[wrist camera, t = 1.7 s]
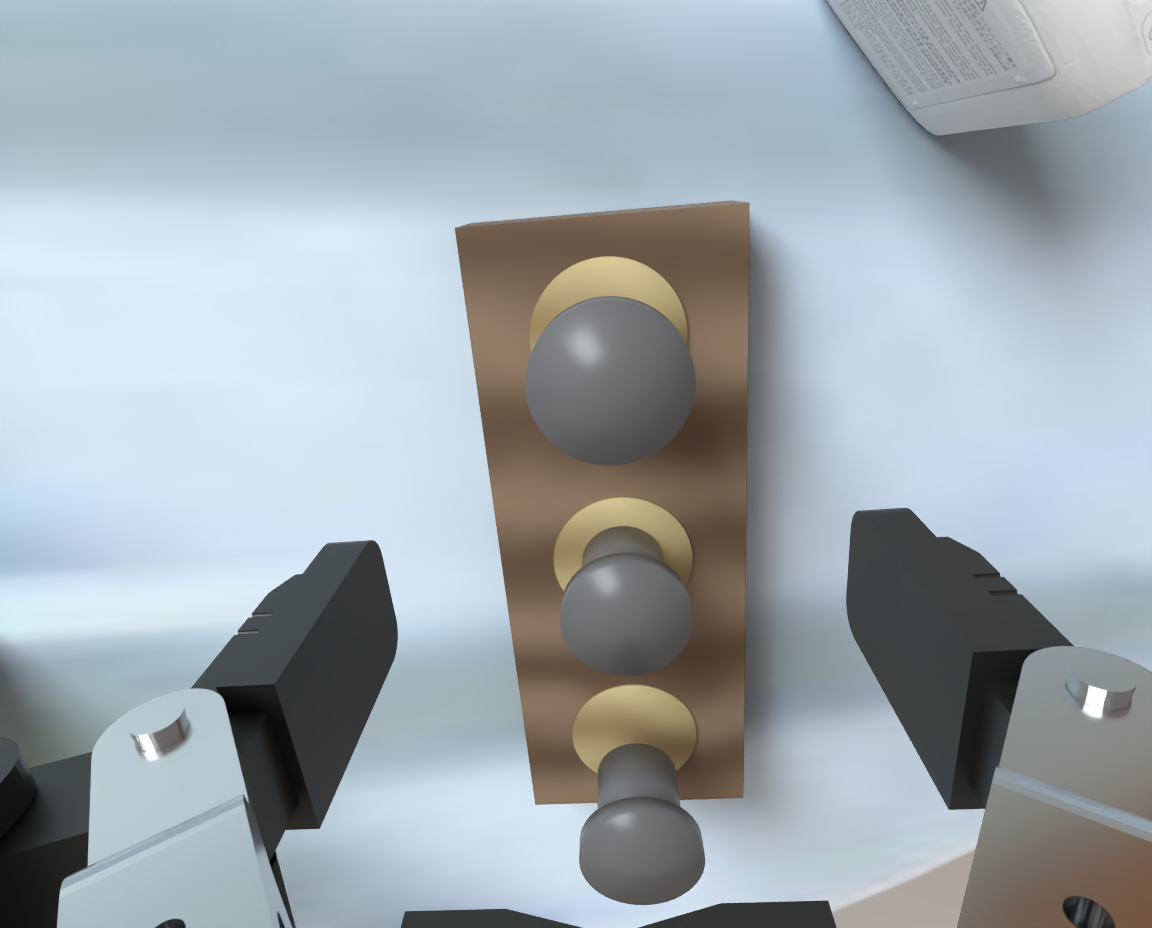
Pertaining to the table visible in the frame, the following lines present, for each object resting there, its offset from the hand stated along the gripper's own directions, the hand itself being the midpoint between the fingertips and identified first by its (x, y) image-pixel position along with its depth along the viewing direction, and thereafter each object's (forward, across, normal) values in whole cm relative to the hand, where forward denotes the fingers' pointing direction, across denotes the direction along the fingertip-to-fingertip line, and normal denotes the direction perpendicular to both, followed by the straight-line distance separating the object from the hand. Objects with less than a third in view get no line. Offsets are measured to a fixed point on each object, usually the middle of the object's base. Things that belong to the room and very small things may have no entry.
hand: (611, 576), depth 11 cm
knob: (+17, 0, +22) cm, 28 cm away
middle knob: (+20, 0, +11) cm, 23 cm away
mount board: (+24, 0, +11) cm, 27 cm away
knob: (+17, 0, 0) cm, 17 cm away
